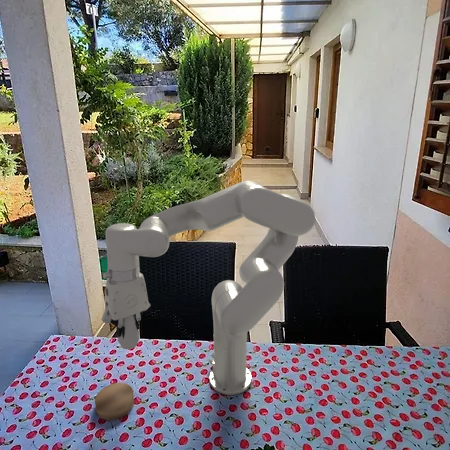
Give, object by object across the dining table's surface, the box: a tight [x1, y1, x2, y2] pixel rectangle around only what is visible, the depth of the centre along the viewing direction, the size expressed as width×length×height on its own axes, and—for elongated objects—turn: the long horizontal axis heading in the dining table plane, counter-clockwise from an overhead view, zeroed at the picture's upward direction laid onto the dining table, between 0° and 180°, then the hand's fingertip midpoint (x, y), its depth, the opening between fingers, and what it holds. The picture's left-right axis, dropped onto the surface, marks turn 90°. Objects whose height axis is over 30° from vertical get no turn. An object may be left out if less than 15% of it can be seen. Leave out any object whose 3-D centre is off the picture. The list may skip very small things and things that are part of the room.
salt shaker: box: [116, 315, 141, 350], centre depth 91 cm, size 6×6×13 cm
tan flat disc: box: [94, 382, 135, 421], centre depth 93 cm, size 10×10×3 cm
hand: (128, 334), depth 91 cm, fingers closed on salt shaker, 3 cm apart
